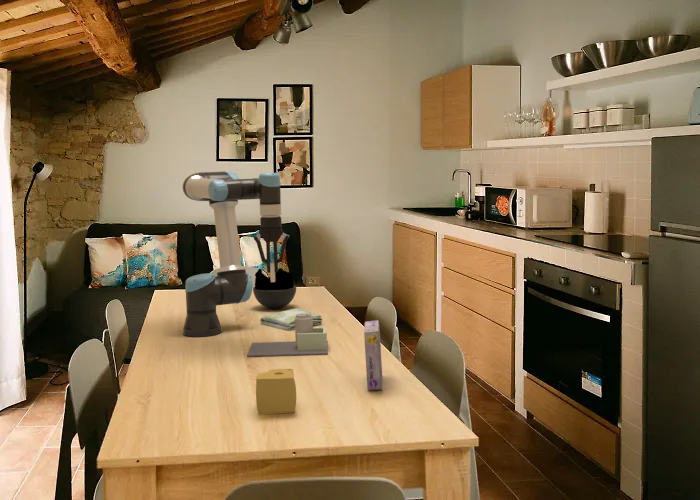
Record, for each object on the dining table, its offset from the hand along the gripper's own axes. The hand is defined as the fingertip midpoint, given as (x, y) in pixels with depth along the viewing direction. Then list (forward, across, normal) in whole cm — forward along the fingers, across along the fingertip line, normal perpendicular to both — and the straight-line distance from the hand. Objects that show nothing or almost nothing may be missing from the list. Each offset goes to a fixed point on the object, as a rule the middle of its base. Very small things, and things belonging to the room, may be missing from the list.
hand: (273, 281), depth 288 cm
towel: (+25, -4, -43) cm, 50 cm away
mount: (+24, -5, +3) cm, 25 cm away
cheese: (+25, -5, +73) cm, 77 cm away
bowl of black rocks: (+25, +5, -80) cm, 84 cm away
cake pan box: (+25, -33, +50) cm, 65 cm away
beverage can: (+24, -11, +3) cm, 26 cm away
